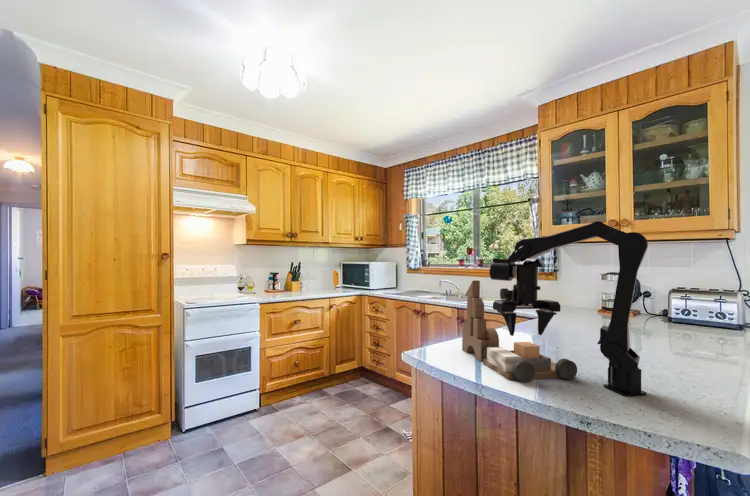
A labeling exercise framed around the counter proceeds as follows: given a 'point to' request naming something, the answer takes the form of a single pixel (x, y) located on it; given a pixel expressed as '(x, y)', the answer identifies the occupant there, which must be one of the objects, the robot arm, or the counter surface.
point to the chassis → (526, 365)
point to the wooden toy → (477, 324)
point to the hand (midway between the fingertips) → (526, 335)
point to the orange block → (526, 350)
